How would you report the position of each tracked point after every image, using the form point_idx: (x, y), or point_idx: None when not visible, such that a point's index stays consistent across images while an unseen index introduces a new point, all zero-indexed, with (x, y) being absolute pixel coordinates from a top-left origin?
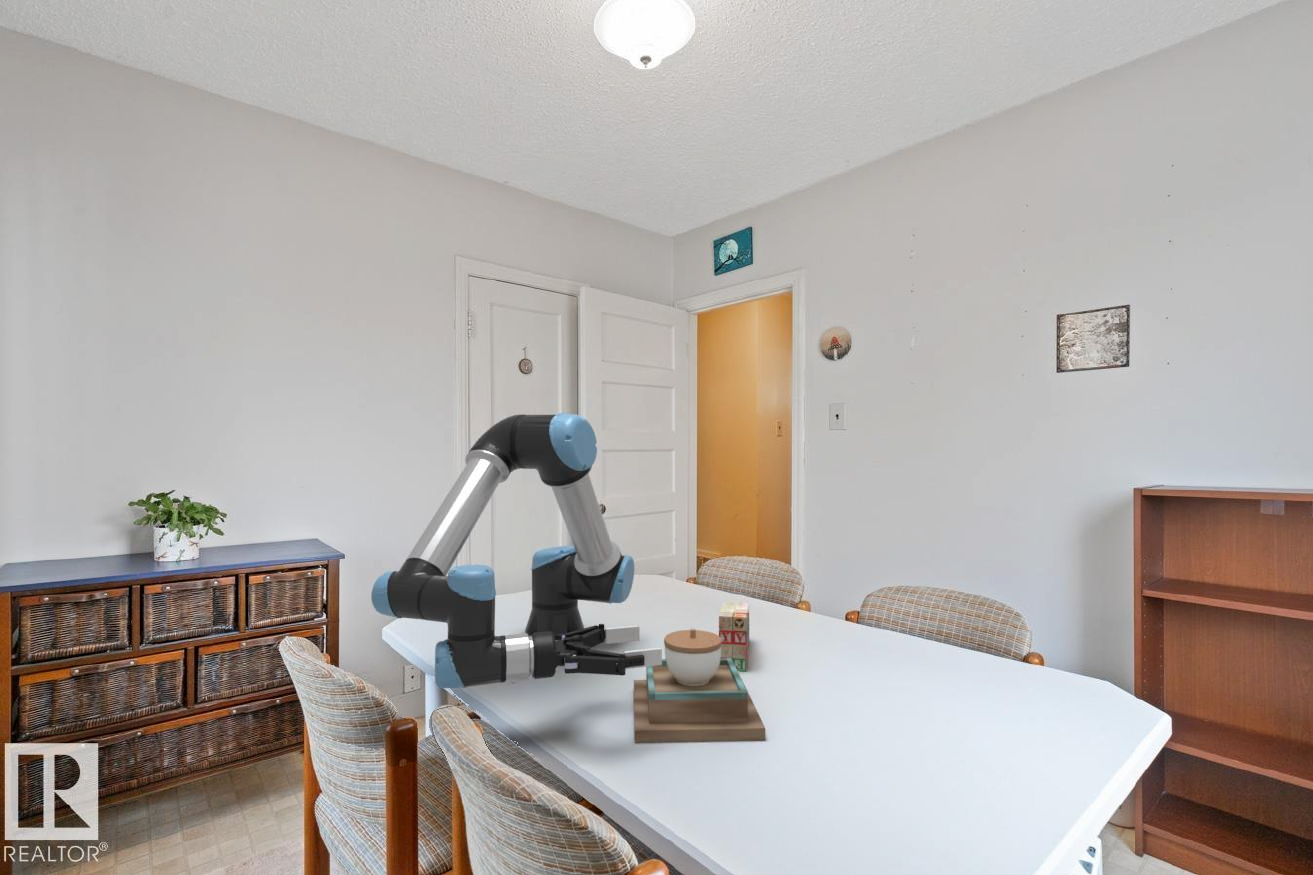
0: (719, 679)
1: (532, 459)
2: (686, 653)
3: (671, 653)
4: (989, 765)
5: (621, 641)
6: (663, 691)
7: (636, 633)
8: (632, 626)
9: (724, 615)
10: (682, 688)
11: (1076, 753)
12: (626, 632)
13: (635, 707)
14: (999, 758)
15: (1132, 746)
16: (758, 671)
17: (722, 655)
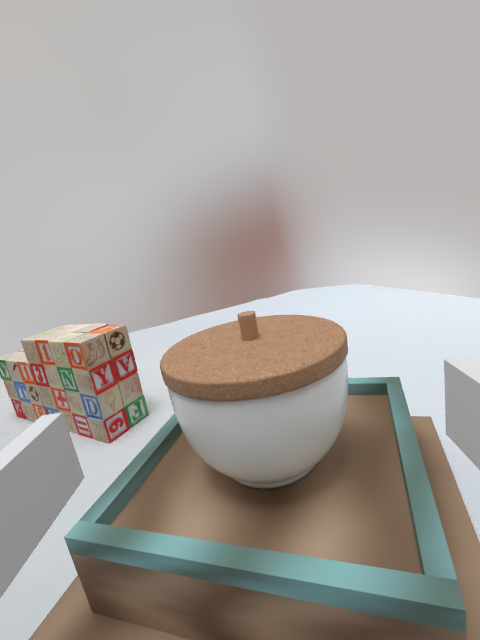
0: None
1: None
2: (340, 366)
3: (295, 403)
4: (452, 320)
5: (17, 566)
6: (353, 545)
7: (64, 454)
8: (28, 435)
9: (85, 339)
10: (328, 484)
11: (415, 299)
12: (22, 488)
13: None
14: (435, 316)
15: (399, 289)
16: (158, 403)
17: (107, 413)
